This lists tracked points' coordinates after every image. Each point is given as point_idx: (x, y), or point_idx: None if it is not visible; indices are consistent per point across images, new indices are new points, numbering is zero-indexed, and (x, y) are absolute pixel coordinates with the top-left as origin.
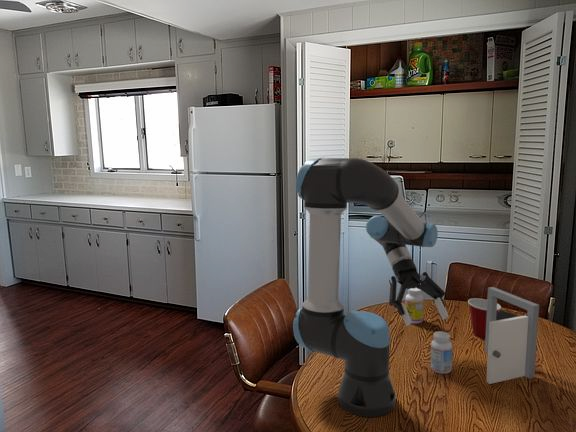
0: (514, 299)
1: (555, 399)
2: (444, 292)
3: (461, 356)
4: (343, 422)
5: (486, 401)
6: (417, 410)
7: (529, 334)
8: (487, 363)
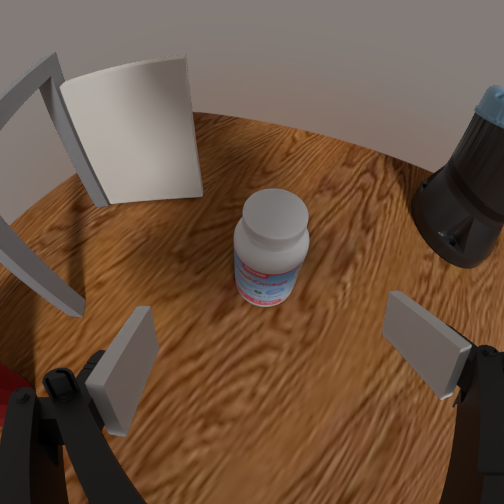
0: (19, 85)
1: None
2: (12, 397)
3: (154, 325)
4: None
5: (250, 161)
6: (380, 178)
7: None
8: (197, 162)
